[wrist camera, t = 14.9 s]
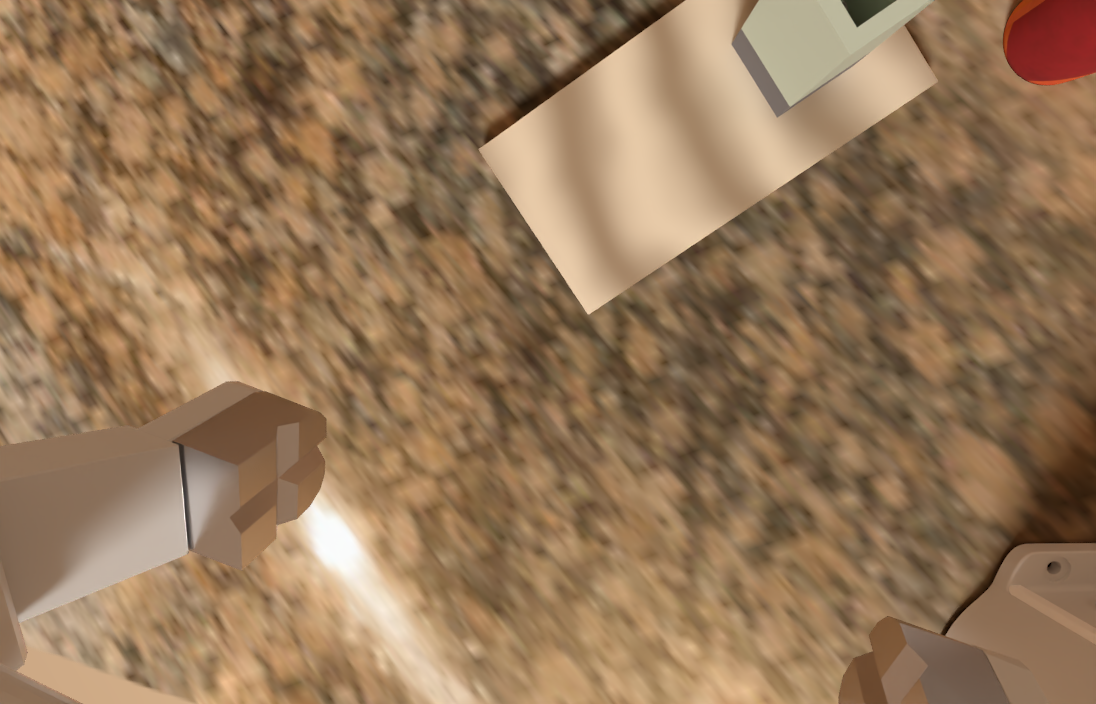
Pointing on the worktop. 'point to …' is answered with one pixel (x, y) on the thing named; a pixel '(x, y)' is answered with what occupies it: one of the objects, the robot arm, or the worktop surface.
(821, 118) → the pin board
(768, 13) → the sleeve
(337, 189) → the worktop surface
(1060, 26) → the paper cup
